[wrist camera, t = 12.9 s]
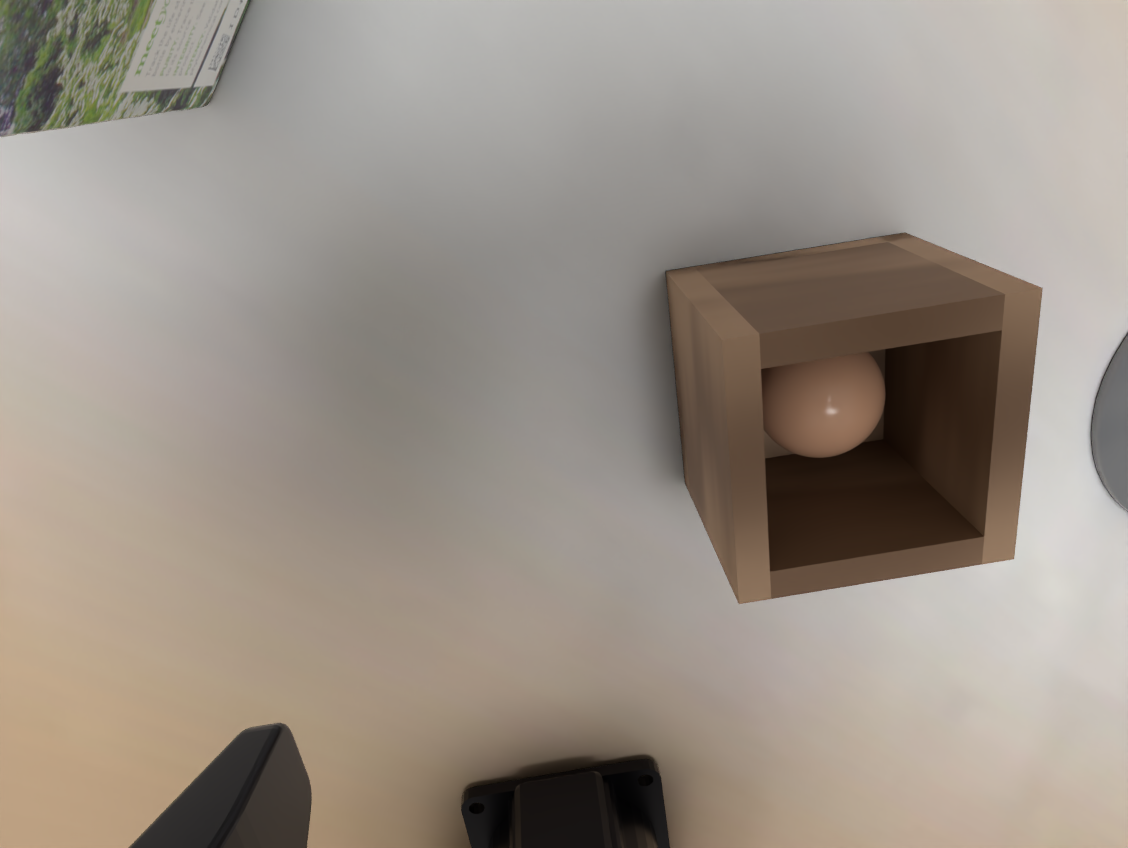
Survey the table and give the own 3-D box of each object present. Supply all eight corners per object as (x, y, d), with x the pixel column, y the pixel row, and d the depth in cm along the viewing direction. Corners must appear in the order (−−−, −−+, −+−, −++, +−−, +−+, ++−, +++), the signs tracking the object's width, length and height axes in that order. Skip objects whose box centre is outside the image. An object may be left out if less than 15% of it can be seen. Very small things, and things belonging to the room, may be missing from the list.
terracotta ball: (854, 416, 21) (906, 468, 18) (741, 435, 21) (777, 489, 18) (854, 307, 20) (911, 345, 17) (735, 326, 20) (772, 367, 17)
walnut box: (897, 448, 22) (1013, 558, 17) (685, 483, 22) (738, 604, 17) (904, 232, 20) (1042, 287, 15) (665, 271, 20) (721, 339, 15)
